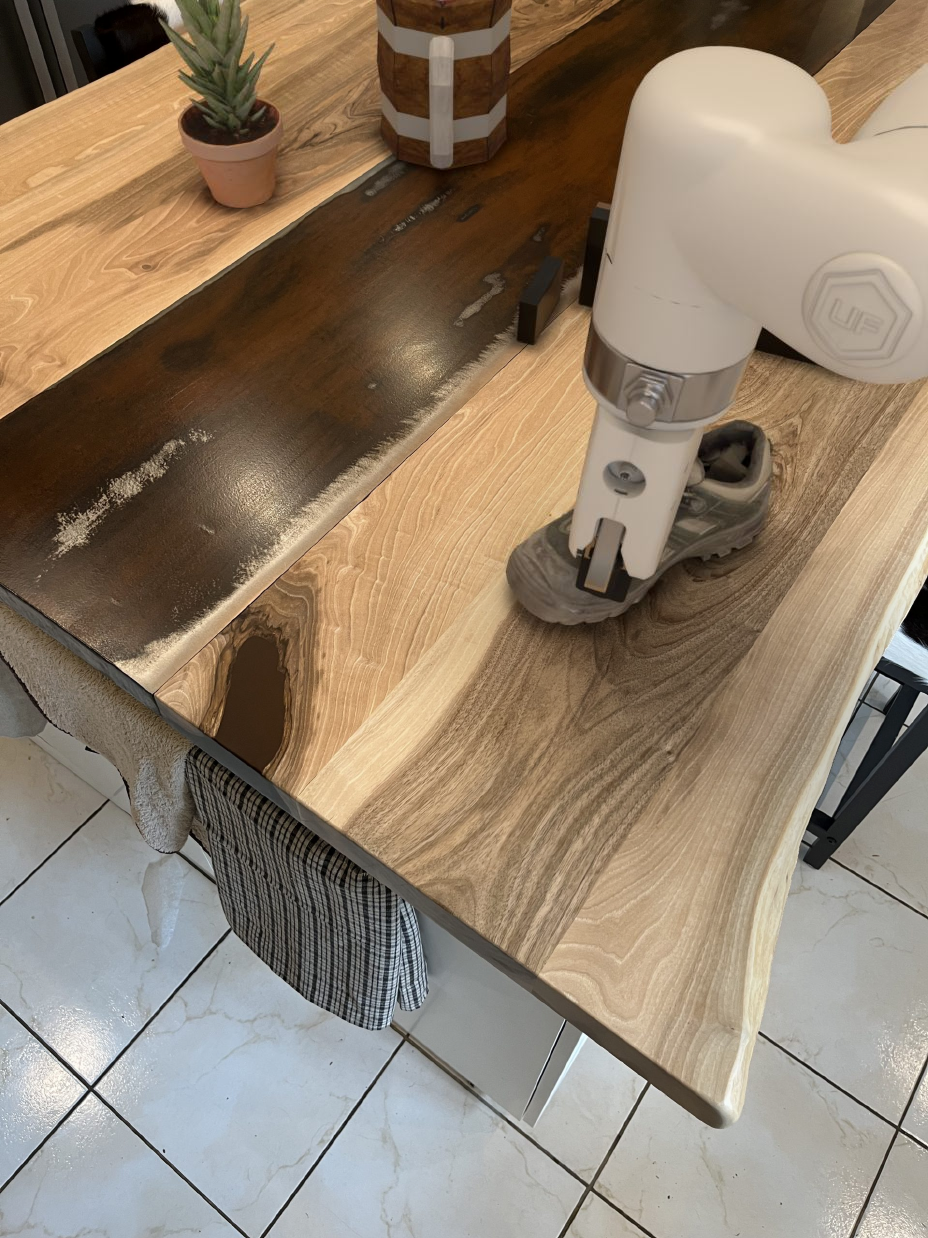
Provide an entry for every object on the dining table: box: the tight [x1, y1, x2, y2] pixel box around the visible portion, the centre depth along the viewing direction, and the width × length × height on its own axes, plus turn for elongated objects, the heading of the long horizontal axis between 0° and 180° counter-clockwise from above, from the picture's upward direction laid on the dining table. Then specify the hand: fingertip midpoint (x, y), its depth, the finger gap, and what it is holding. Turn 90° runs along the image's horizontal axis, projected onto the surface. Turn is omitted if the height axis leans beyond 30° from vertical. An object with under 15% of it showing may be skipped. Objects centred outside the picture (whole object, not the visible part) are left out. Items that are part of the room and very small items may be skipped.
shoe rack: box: [516, 201, 822, 367], centre depth 77 cm, size 27×9×8 cm, turn 68°
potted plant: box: [158, 0, 285, 209], centre depth 83 cm, size 10×10×25 cm
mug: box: [375, 0, 513, 171], centre depth 92 cm, size 20×14×15 cm
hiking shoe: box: [504, 418, 774, 626], centre depth 63 cm, size 9×21×12 cm, turn 122°
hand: (602, 586), depth 59 cm, fingers closed
